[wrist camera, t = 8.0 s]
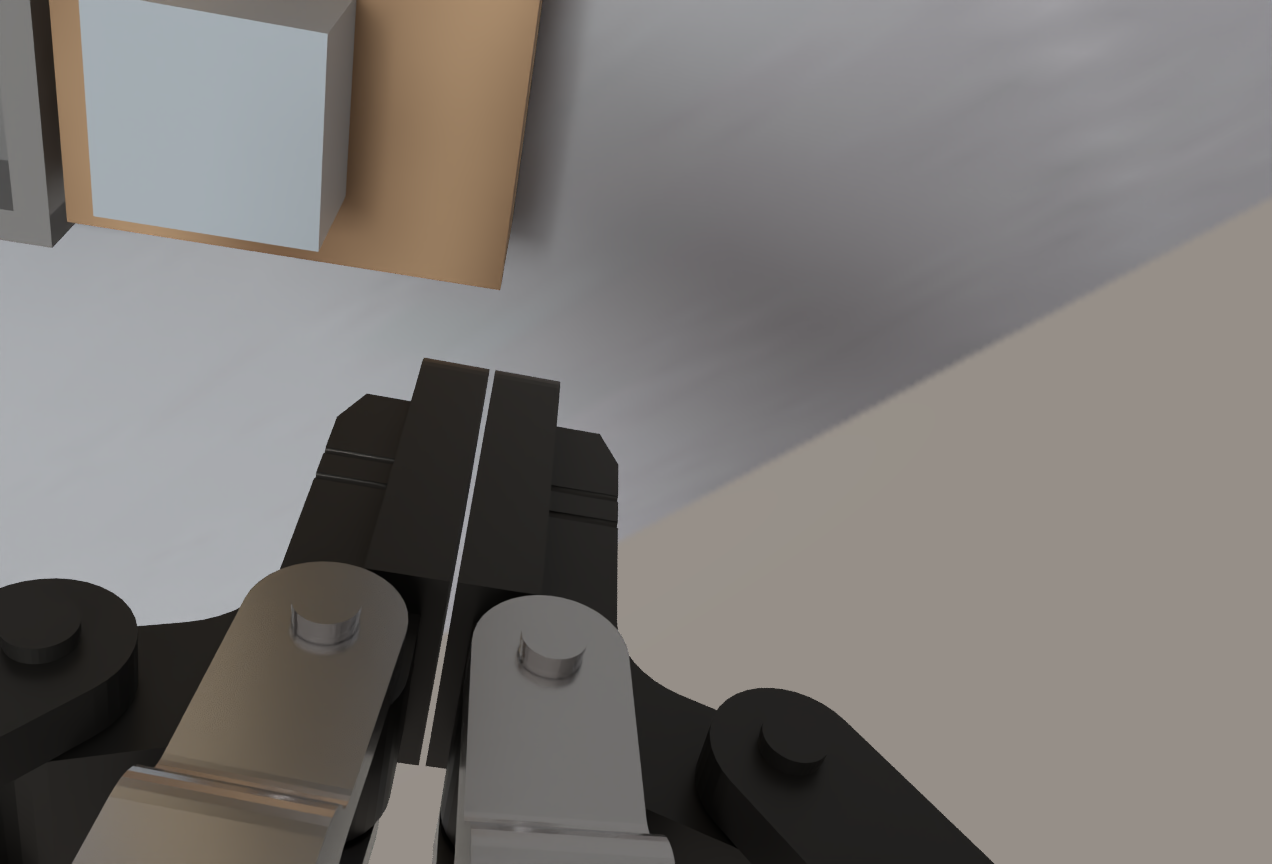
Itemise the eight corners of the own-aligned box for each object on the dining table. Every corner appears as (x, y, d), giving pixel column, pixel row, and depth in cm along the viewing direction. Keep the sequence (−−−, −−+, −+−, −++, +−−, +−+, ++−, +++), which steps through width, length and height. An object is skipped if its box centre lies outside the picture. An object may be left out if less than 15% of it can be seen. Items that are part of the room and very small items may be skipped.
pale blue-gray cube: (356, -6, 25) (327, 33, 22) (345, 196, 27) (318, 251, 25) (133, -46, 24) (77, -11, 22) (142, 162, 27) (93, 216, 24)
